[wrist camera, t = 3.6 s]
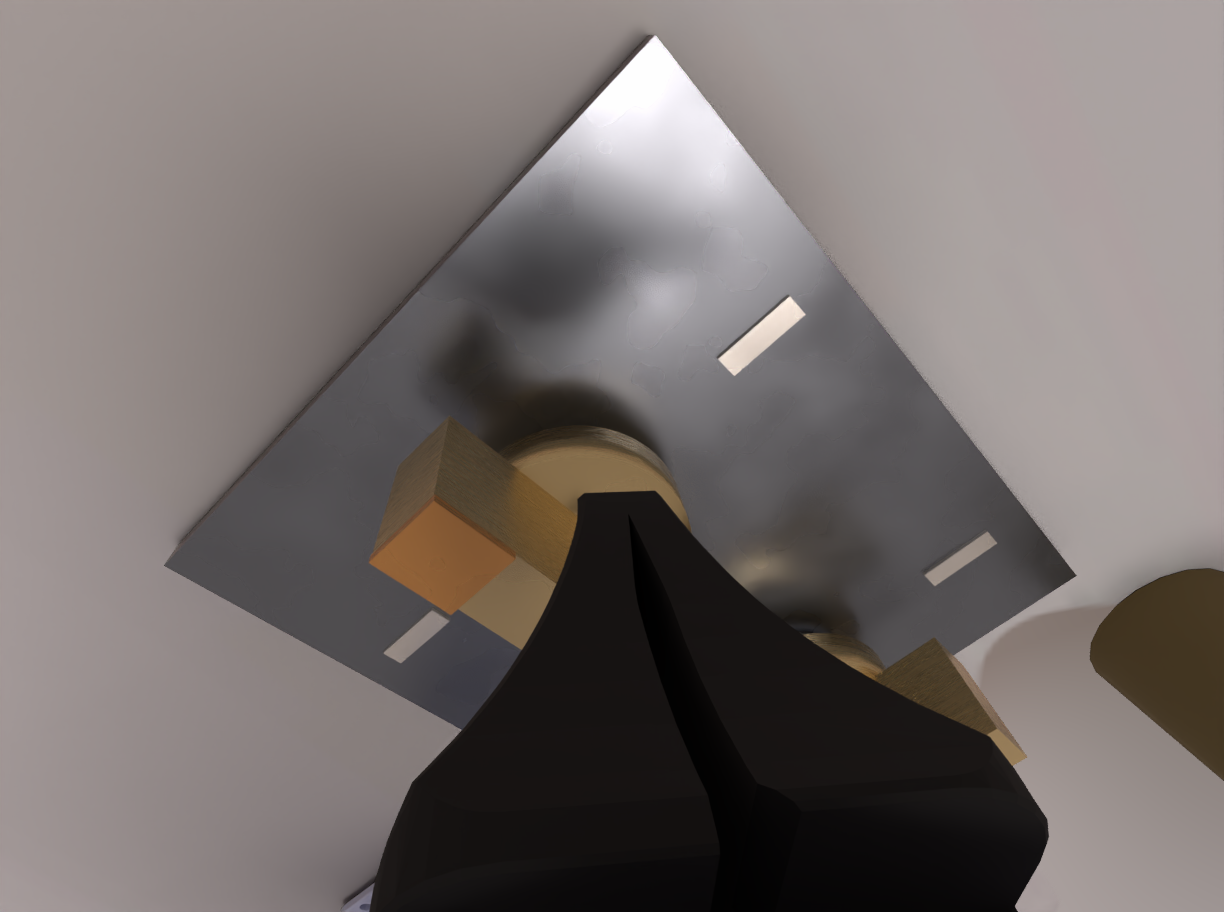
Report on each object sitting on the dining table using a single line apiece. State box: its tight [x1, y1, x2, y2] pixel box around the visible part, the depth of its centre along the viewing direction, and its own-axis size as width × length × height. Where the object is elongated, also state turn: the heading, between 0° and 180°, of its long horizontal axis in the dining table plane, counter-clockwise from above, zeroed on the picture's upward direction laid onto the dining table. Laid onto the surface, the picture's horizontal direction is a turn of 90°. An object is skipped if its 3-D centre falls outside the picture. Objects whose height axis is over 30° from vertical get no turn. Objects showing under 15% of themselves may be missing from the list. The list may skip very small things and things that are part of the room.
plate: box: [164, 35, 1076, 730], centre depth 22 cm, size 19×22×2 cm
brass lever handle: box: [369, 415, 692, 650], centre depth 18 cm, size 6×10×5 cm, turn 43°
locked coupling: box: [804, 633, 1027, 766], centre depth 22 cm, size 6×10×5 cm, turn 133°
